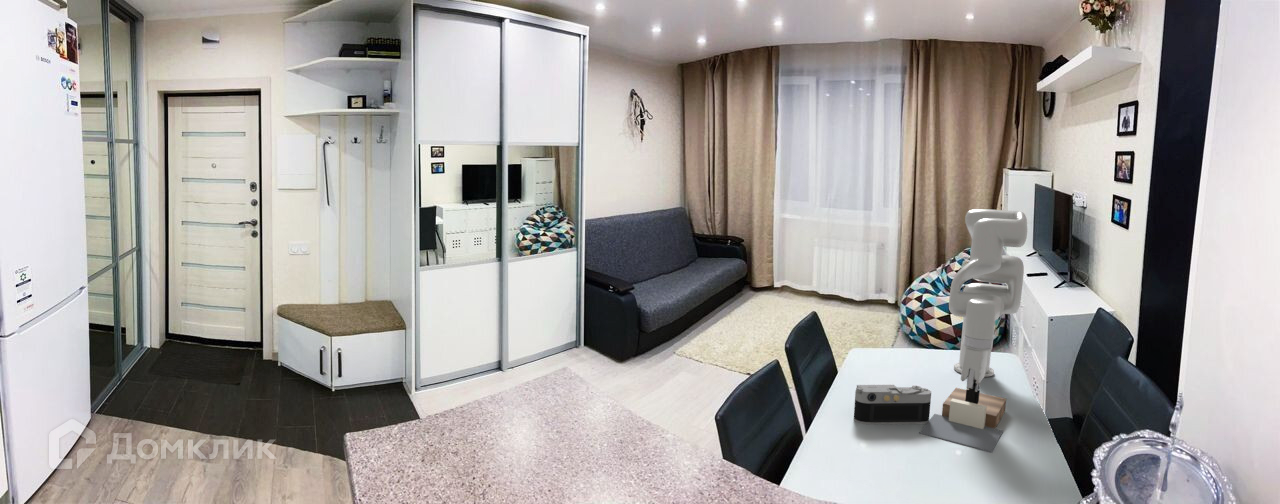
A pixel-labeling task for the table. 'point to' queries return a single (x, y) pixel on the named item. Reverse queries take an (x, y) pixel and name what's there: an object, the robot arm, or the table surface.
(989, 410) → the brown flat block
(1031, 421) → the table surface
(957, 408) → the cream rectangular block
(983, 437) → the mat
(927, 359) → the table surface
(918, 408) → the camera
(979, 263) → the robot arm
